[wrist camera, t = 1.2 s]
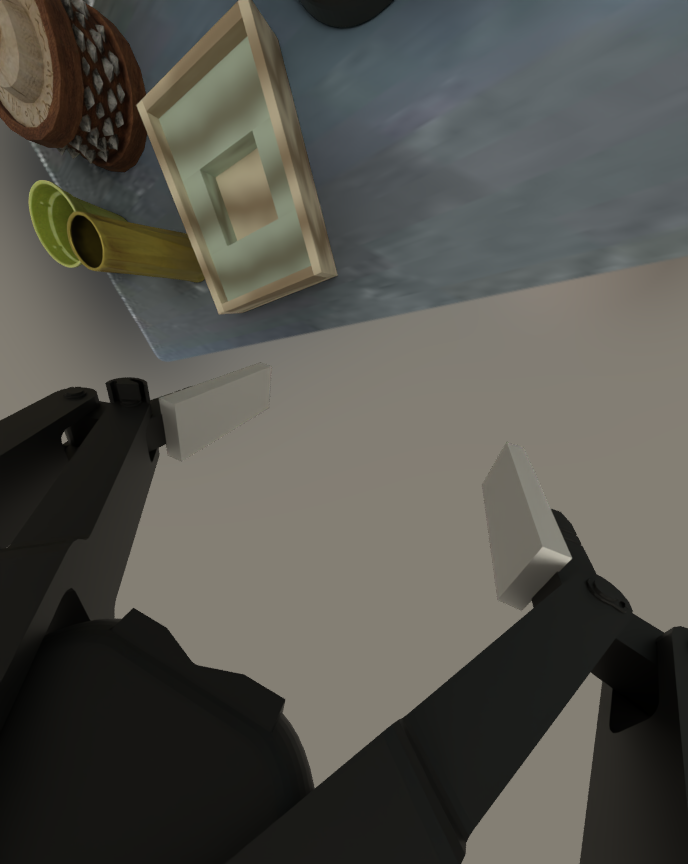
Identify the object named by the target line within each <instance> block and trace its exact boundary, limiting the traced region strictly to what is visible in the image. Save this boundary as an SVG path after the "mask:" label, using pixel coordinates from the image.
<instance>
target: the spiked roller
mask: <svg viewBox="0 0 688 864" xmlns="http://www.w3.org/2000/svg"><path fill="white" fill-rule="evenodd" d="M145 96H146V92H145V87H144V83H143V79H142V74H141V70H140V68H139V65H138V63H137V61H136V59H135V56H134V54H133V52H132V50H131V47H130V45H129V43H128V42H127V41H126V39H125V38H124V37H123V35H122V34H121V33H120V32H119V30H118V29H117V28H116V26H115V25H114V24H113V23H112V22H111V21H109V20H108V19H107V18H106V17H104V16H103V15H102V14H101V13H99V12H98V11H97V10H96V9H94V8H93V7H91V6H89V5H87V4H86V3H85V1H84V2H83V0H0V118H1V119H2V120H3V121H4V122H5V123H6V125H7V126H8V127H9V128H10V129H11V130H13V131H14V132H16V133H17V134H19V135H21V136H22V137H24V138H25V139H27V140H29V141H32V142H35V143H37V144H40V145H43V146H46V147H48V148H57V149H58V151H59V152H60V153H61V155H63V153H64V152H65V150H66V149H67V150H68V151H69V153H70V155H71V156H72V158H73V159H74V158H75V157H76V156H78V155H79V154H81V155H82V156H83V157H84V158H85V159H87V160H88V161H89V162H90V163H93V164H95V165H97V166H99V167H102V168H104V169H107V170H110V171H115V172H126V171H127V170H129V169H130V168H132V167H133V166H135V165H136V164H137V162H138V160H139V158H140V156H141V154H142V152H143V151H144V148H145V142H146V137H147V131H146V128H145V126H144V123H143V121H142V118H141V116H140V113H139V111H138V108H137V106H136V105H137V104H138V103H139V102H140V101H141V100H142V99H143V98H144V97H145Z"/></svg>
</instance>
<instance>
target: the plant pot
mask: <svg viewBox="0 0 688 864" xmlns="http://www.w3.org/2000/svg"><path fill="white" fill-rule="evenodd" d="M29 210H30V215H31V219H32V223H33V226H34V228H35V231H36V233H37V235H38V237H39V239H40V241H41V243H42V245H43V246H44V248H45V249H46V250H47V252H48V253H49V254H50V255H51V256H52V257H53V258H54V259H55V260H56V261H57V262H58V263H60V264H62V265H63V266H66V267H70V268H73V267H78V266H80V265H81V264H82V263H81V262H80V261H79V259H78V258H77V257H76V255H75V254H74V252H73V250H72V248H71V245H70V242H69V239H68V234H67V222H68V218H69V216H70V215H71V214H72V213H73V212H86V213H91V214H94V215H99V216H103V217H108V218H112V219H117V220H121V221H125V222H127V221H126V220H125V219H124V218H123V217H121V216H119V215H117V214H115V213H112V212H110V211H107V210H105V209H102V208H100V207H97V206H95V205H92V204H90V203H88V202H85V201H83V200H80V199H78V198H76V197H73V196H72V195H71V194H69V193H68V192H66V191H63V190H62V189H61V188H60V187H58V186H57V185H55V184H54V183H52V182H49V181H46V180H39V181H37V182H35V183H34V185H33V186H32V188H31V190H30V193H29Z"/></svg>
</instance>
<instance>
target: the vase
mask: <svg viewBox="0 0 688 864" xmlns="http://www.w3.org/2000/svg"><path fill="white" fill-rule="evenodd" d="M67 234H68V239H69V242H70V245H71V248H72V250H73V252H74V254H75V255H76V257H77V258H78V259H79V261H80V262H81V263H82V264H83V265H84V266H85V267H87V268H88V269H90V270H93V271H101V272H112V273H124V274H134V275H143V276H152V277H162V278H170V279H179V280H186V281H192V282H201V281H203V280H204V279H205V277H204V275H203V272H202V270H201V267H200V265H199V262H198V260H197V257H196V255H195V252H194V250H193V247H192V245H191V242H190V240H189V237H188V235H187V234H185V233H181V232H176V231H170V230H165V229H160V228H155V227H150V226H144V225H139V224H134V223H130V222H125V221H121V220H117V219H112V218H108V217H103V216H99V215H94V214H91V213H86V212H73V213H72V214H71V215H70V216H69V218H68V222H67Z"/></svg>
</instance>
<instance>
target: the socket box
mask: <svg viewBox="0 0 688 864" xmlns="http://www.w3.org/2000/svg"><path fill="white" fill-rule="evenodd" d="M136 106H137V108H138V111H139V113H140V116H141V118H142V121H143V123H144V126H145V128H146V131H147V134H148V136H149V139H150V141H151V144H152V146H153V149H154V151H155V154H156V156H157V159H158V161H159V164H160V166H161V169H162V171H163V174H164V176H165V179H166V182H167V184H168V187H169V189H170V192H171V194H172V197H173V199H174V202H175V204H176V207H177V209H178V212H179V214H180V217H181V219H182V222H183V224H184V227H185V229H186V232H187V235H188V237H189V240H190V242H191V245H192V247H193V250H194V252H195V255H196V257H197V260H198V262H199V265H200V267H201V270H202V272H203V275H204V277H205V280H206V282H207V285H208V288H209V290H210V293H211V295H212V298H213V300H214V303H215V305H216V308H217V310H218V313H219V314H232V313H244V312H246V311H249V310H251V309H254V308H257V307H259V306H262V305H264V304H267V303H269V302H272V301H274V300H277V299H279V298H282V297H284V296H287V295H290V294H292V293H295V292H297V291H300V290H302V289H305V288H307V287H310V286H312V285H315V284H317V283H320V282H323V281H325V280H328V279H330V278H333V277H335V276H338V275H337V271H336V267H335V263H334V259H333V255H332V251H331V247H330V243H329V239H328V235H327V231H326V227H325V223H324V219H323V215H322V211H321V208H320V204H319V200H318V196H317V192H316V188H315V184H314V180H313V176H312V172H311V168H310V164H309V160H308V156H307V152H306V148H305V144H304V140H303V136H302V132H301V128H300V124H299V120H298V117H297V113H296V109H295V105H294V101H293V97H292V93H291V89H290V85H289V81H288V77H287V73H286V69H285V65H284V61H283V57H282V53H281V49H280V45H279V41H278V38H277V37H276V35H275V34H274V32H273V31H272V29H271V28H270V26H269V25H268V24H267V22H266V21H265V19H264V18H263V16H262V15H261V13H260V12H259V10H258V9H257V7H256V6H255V4H254V3H253V1H252V0H239V1H238V2H237V3H236V4H235V5H234V6H233V7H232V8H231V9H230V10H229V11H228V12H227V13H226V14H225V15H224V16H223V17H222V18H221V19H220V20H219V21H218V22H217V23H216V24H215V25H214V26H213V27H212V28H211V29H210V30H209V31H208V32H207V33H206V34H205V35H204V36H203V37H202V38H201V39H200V40H199V41H198V42H197V43H196V45H195V46H194V47H193V48H192V49H191V50H190V51H189V52H188V53H187V54H186V55H185V56H184V57H183V58H182V59H181V60H180V61H179V62H178V63H177V64H176V65H175V66H174V67H173V68H172V69H171V70H170V71H169V72H168V73H167V74H166V75H165V76H164V77H163V78H162V79H161V80H160V81H159V82H158V83H157V84H156V85H155V86H154V87H153V89H152V90H151V91H150V92H149V93H148V94H147V95H146V96H145V97H144V98H143V99H142V100H141V101H140V102H139V103H138V104H137V105H136Z"/></svg>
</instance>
